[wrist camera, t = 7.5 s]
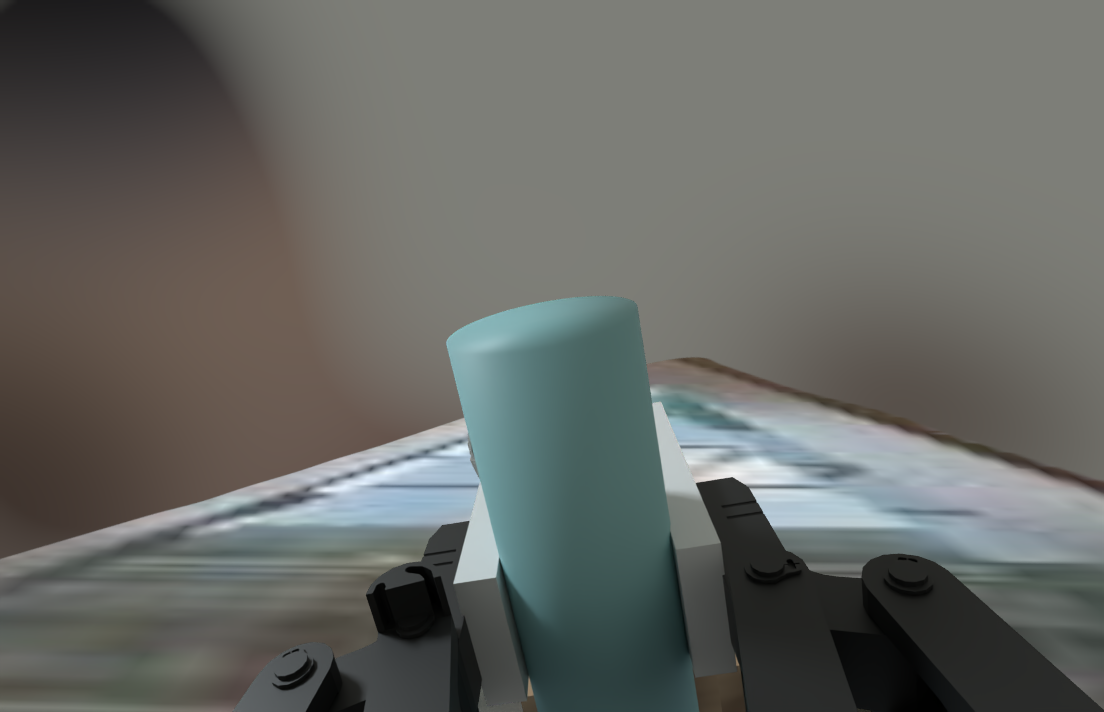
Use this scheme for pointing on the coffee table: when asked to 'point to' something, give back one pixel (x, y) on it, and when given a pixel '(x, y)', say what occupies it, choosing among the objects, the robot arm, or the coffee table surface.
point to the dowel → (578, 502)
